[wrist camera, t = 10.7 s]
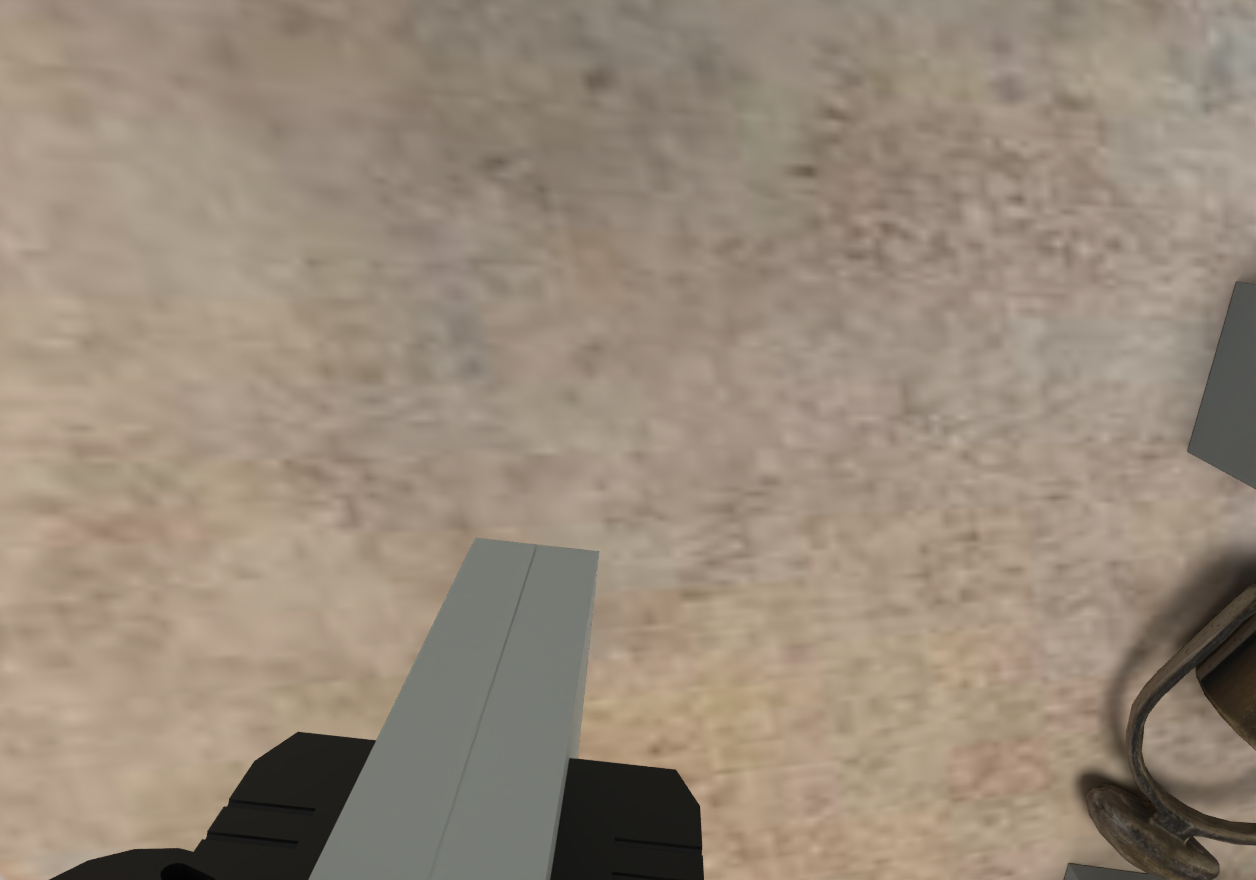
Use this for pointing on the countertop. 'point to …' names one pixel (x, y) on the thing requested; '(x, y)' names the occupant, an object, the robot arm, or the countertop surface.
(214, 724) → the countertop surface
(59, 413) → the countertop surface
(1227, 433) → the rail bench
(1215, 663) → the dark metal piece
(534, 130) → the countertop surface
